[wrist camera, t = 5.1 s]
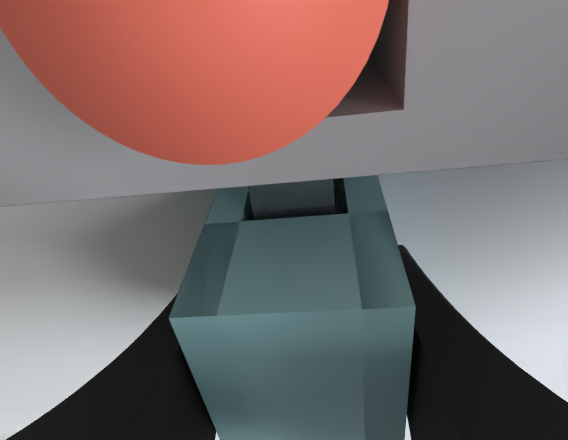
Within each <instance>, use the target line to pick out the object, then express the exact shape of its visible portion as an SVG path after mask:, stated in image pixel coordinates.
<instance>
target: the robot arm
mask: <svg viewBox="0 0 568 440" xmlns="http://www.w3.org/2000/svg"><path fill="white" fill-rule="evenodd" d="M398 248H399V251H400V255H401V258H402V262H403V265H404V268H405V272H406V275H407V279H408V282H409V286H410V289H411V292H412V296H413V299H414V303H415V306H416V310H415V321H414V333H413V345H412V356H411V368H410V380H409V391H408V403H407V418H408V423H409V429H410V434H411V440H568V402H566V401H565V400H563V399H562V398H560V397H559V396H558V395H556V394H555V393H554V392H552V391H551V390H550V389H548V388H547V387H545V386H544V385H543V384H541V383H540V382H539V381H537V380H536V379H535V378H533V377H532V376H531V375H529V374H528V373H527V372H525V371H524V370H523V369H521V368H520V367H519V366H518V365H516V364H515V363H514V362H513V361H511V360H510V359H509V358H508V357H507V356H505V355H504V354H503V353H502V352H501V351H499V350H498V349H497V348H496V347H495V346H494V345H493V344H491V343H490V342H489V341H488V340H487V339H486V338H485V337H484V336H482V335H481V334H480V333H479V332H478V331H477V330H476V329H475V328H474V327H473V326H472V325H471V324H470V323H469V322H468V321H467V320H466V319H465V318H464V317H463V316H462V315H461V314H460V313H459V312H458V311H457V310H456V309H455V308H454V307H453V306H452V305H451V304H450V302H449V301H448V300H447V299H446V298H445V297H444V296H443V295H442V293H441V292H440V291H439V290H438V289H437V288H436V287H435V285H434V284H433V283H432V282H431V281H430V280H429V278H428V277H427V276H426V275H425V273H424V272H423V271H422V269H421V268H420V267H419V266H418V264H417V263H416V262H415V260H414V259H413V258H412V256H411V255H410V253H409V252H408V250H407V249H406V248H405V247H404V246H403V245H398ZM177 295H178V294H177ZM177 295H176V296H175V297H174V298H173V300H172V301H171V302H170V303H169V304H168V306H167V307H166V308H165V309H164V310H163V311H162V312H161V314H160V315H159V316H158V317H157V318H156V319H155V320H154V321H153V322H152V323H151V324H150V325H149V327H148V328H147V329H146V330H145V331H144V332H143V333H142V334H141V335H140V336H139V337H138V338H137V339H136V340H135V341H134V342H133V343H132V344H131V345H130V346H129V347H128V348H127V349H126V350H125V351H123V352H122V353H121V354H120V355H119V356H118V357H117V358H116V359H115V360H114V361H112V362H111V363H110V364H109V365H108V366H107V367H105V368H104V369H103V370H102V371H101V372H99V373H98V374H97V375H96V376H94V377H93V378H92V379H91V380H89V381H88V382H87V383H86V384H85V385H83V386H82V387H81V388H80V389H78V390H77V391H76V392H75V393H73V394H72V395H71V396H69V397H68V398H67V399H65V400H64V401H62V402H61V403H60V404H58V405H57V406H56V407H54V408H53V409H51V410H50V411H49V412H47V413H46V414H44V415H43V416H41V417H40V418H39V419H37V420H36V421H34V422H33V423H31V424H30V425H28V426H27V427H25V428H24V429H22V430H20V431H19V432H17V433H16V434H14V435H13V436H11V437H9V438H8V439H6V440H215V435H216V429H215V427H214V424H213V422H212V420H211V417H210V415H209V412H208V410H207V408H206V405H205V403H204V401H203V398H202V396H201V394H200V391H199V389H198V386H197V384H196V382H195V379H194V377H193V375H192V372H191V370H190V368H189V365H188V363H187V360H186V358H185V356H184V353H183V351H182V349H181V346H180V344H179V342H178V339H177V337H176V334H175V332H174V330H173V327H172V325H171V323H170V320H169V316H170V313H171V311H172V308H173V305H174V303H175V300H176V297H177Z"/></svg>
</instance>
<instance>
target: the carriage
mask: <svg viewBox="0 0 568 440" xmlns="http://www.w3.org/2000/svg"><path fill="white" fill-rule="evenodd" d="M342 179H343V199H344V214H333V215H319V216H306V217H292V218H279V219H265V220H254V215H253V211H252V206H251V201H250V196H249V191H248V186H241V187H229V188H218V190H217V193H216V196H215V198H214V201H213V203H212V206H211V209H210V211H209V214H208V217H207V219H206V222H205V224H204V227H203V230H202V232H201V235H200V237H199V240H198V243H197V245H196V248H195V250H194V253H193V256H192V258H191V261H190V264H189V266H188V269H187V271H186V274H185V277H184V279H183V282H182V284H181V287H180V290H179V292H178V295H177V297H176V300H175V303H174V305H173V308H172V311H171V313H170V316H169V320H170V323H171V325H172V327H173V330H174V332H175V334H176V337H177V339H178V342H179V344H180V346H181V349H182V351H183V353H184V356H185V358H186V360H187V363H188V365H189V368H190V370H191V372H192V375H193V377H194V379H195V382H196V384H197V386H198V389H199V391H200V394H201V396H202V398H203V401H204V403H205V405H206V408H207V410H208V412H209V415H210V417H211V420H212V422H213V424H214V427H215V429H216V431H217V434H218V436H219V438H220V440H404V438H405V426H406V415H407V403H408V391H409V380H410V368H411V356H412V345H413V333H414V321H415V310H416V306H415V303H414V299H413V296H412V292H411V289H410V286H409V282H408V279H407V275H406V272H405V268H404V265H403V262H402V258H401V255H400V251H399V248H398V244H397V241H396V238H395V234H394V231H393V227H392V224H391V220H390V217H389V214H388V210H387V207H386V203H385V200H384V196H383V193H382V190H381V186H380V183H379V179H378V176H377V175H371V176H359V177H348V178H342Z"/></svg>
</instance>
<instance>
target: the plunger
mask: <svg viewBox="0 0 568 440" xmlns="http://www.w3.org/2000/svg"><path fill="white" fill-rule="evenodd" d="M388 2H389V0H0V28H1V30H2V31H3V33H4V34H5V36H6V37H7V39H8V40H9V42H10V43H11V45H12V47H13V48H14V50H15V51H16V53H17V54H18V56H19V57H20V58H21V59H22V61H23V62H24V63H25V64H26V66H27V67H28V68H29V69H30V71H31V72H32V73H33V74H34V76H35V77H36V78H37V79H38V80H39V81H40V82H41V83H42V84H43V86H44V87H45V88H46V89H47V90H48V91H49V92H50V93H51V94H52V95H53V96H54V97H55V98H56V99H57V100H58V101H59V102H61V103H62V104H63V105H64V106H65V107H66V108H68V109H69V110H70V111H71V112H72V113H73V114H74V115H76V116H77V117H78V118H80V119H81V120H83V121H84V122H85V123H87V124H88V125H90V126H91V127H92V128H94V129H95V130H97V131H98V132H100V133H102V134H104V135H105V136H107V137H109V138H111V139H112V140H114V141H116V142H118V143H120V144H122V145H124V146H127V147H129V148H131V149H133V150H136V151H138V152H140V153H144V154H147V155H150V156H153V157H156V158H159V159H163V160H168V161H173V162H178V163H184V164H195V165H224V164H230V163H237V162H243V161H247V160H251V159H254V158H258V157H261V156H265V155H267V154H269V153H272V152H274V151H276V150H279V149H281V148H283V147H285V146H287V145H289V144H290V143H292V142H294V141H295V140H297V139H299V138H300V137H302V136H304V135H305V134H306V133H307V132H309V131H310V130H311V129H313V128H314V127H315V126H316V125H318V124H319V123H320V122H321V121H322V120H323V119H324V118H325V117H326V116H327V115H328V114H329V113H330V112H331V111H332V110H333V109H334V108H335V107H336V106H337V105H338V104H339V103H340V101H341V100H342V99H343V98H344V96H345V95H346V94H347V92H348V91H349V90H350V89H351V87H352V86H353V85H354V83H355V81H356V79H357V78H358V76H359V74H360V73H361V71H362V69H363V68H364V66H365V64H366V63H367V61H368V58H369V56H370V54H371V52H372V49H373V47H374V45H375V43H376V40H377V38H378V36H379V33H380V29H381V26H382V23H383V20H384V17H385V14H386V10H387V7H388Z"/></svg>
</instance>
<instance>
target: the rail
mask: <svg viewBox="0 0 568 440" xmlns="http://www.w3.org/2000/svg"><path fill="white" fill-rule="evenodd" d="M248 191H249V196H250V201H251V206H252V211H253V215H254V220H265V219H279V218H292V217H306V216H319V215H333V214H336V213H335V198H334V182H333V179H324V180H312V181H300V182H288V183H276V184H265V185H253V186H248Z"/></svg>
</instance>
